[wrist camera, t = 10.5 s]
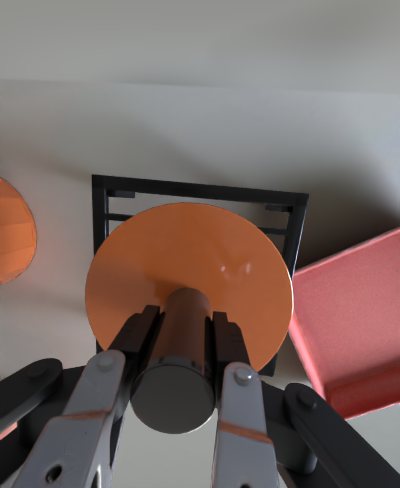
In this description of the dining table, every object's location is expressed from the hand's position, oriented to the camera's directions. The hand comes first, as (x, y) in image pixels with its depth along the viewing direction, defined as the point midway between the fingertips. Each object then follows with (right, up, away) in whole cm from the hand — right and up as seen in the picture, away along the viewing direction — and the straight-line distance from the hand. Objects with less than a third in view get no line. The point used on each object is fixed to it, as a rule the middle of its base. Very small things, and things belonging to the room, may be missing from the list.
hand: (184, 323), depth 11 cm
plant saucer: (+19, -2, +10) cm, 22 cm away
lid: (0, 0, +2) cm, 2 cm away
